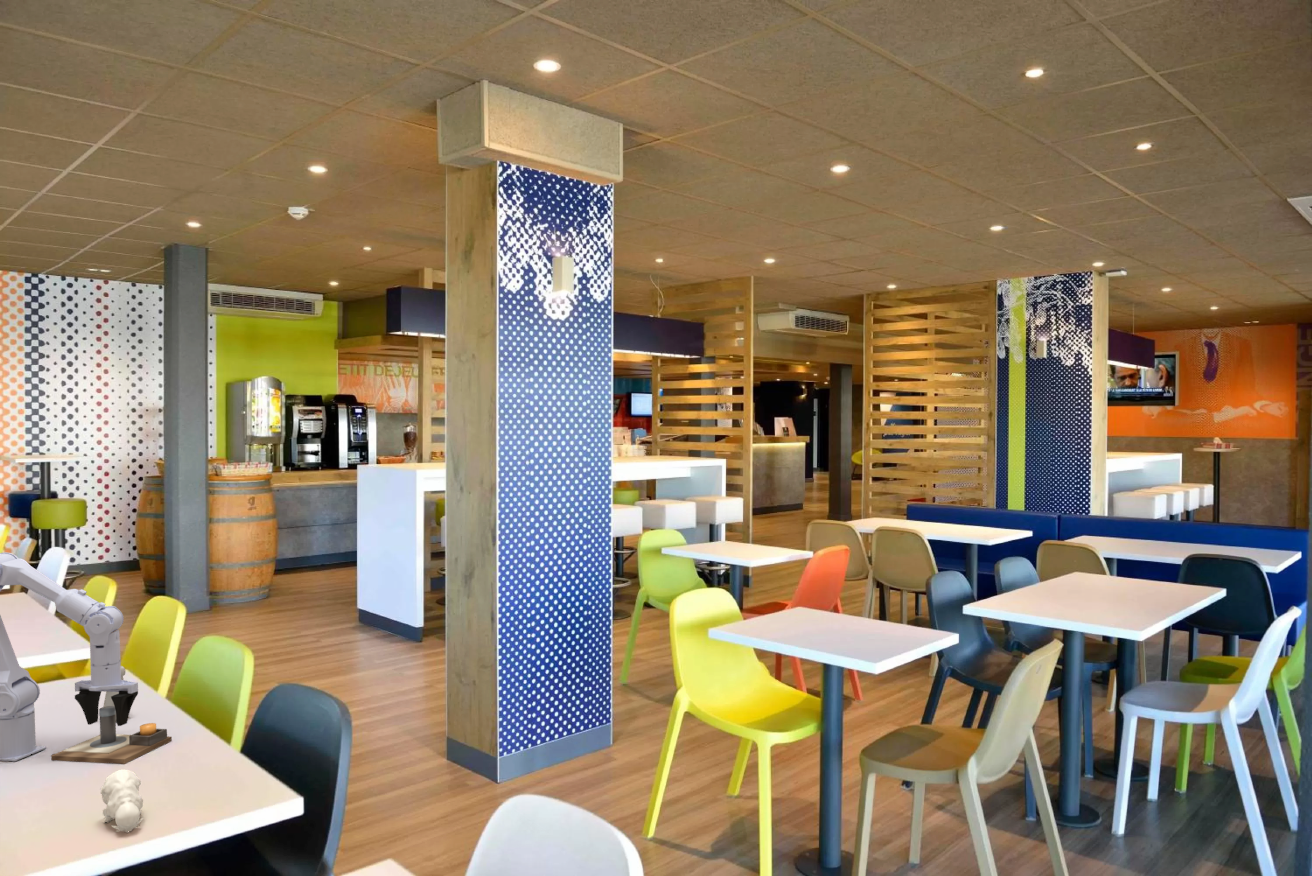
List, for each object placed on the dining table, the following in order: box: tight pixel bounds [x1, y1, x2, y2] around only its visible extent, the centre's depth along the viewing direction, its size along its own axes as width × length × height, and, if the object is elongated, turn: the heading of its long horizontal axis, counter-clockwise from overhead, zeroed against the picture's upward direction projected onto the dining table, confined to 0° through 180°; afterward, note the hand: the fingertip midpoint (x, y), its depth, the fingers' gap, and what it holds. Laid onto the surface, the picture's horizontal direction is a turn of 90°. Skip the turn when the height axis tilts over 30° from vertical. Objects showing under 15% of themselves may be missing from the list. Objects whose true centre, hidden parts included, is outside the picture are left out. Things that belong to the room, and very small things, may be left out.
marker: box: [98, 706, 117, 744], centre depth 202 cm, size 3×3×8 cm
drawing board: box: [50, 728, 173, 765], centre depth 200 cm, size 18×14×3 cm
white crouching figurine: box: [100, 769, 144, 833], centre depth 161 cm, size 6×8×12 cm
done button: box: [139, 722, 157, 736], centre depth 202 cm, size 3×3×2 cm
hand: (107, 723), depth 202 cm, fingers open, 7 cm apart
